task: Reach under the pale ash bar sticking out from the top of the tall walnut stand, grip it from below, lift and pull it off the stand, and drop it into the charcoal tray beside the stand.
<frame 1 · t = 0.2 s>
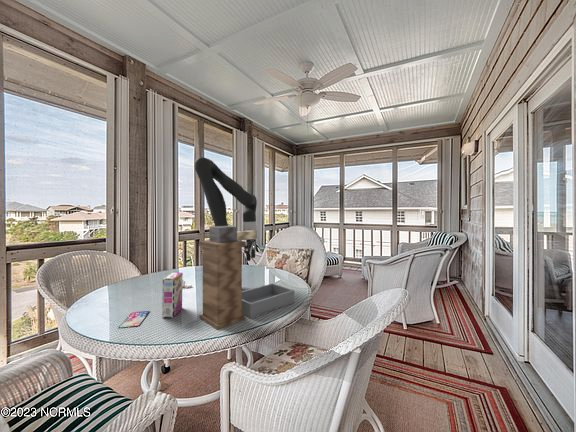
hand: (250, 259, 144), 17 cm above the table, tool pointing down, fingers open, 8 cm apart
teacup and saucer: (182, 289, 147), on the table
smartphone: (135, 320, 107), on the table
candy bar box: (173, 313, 114), on the table
ash bar: (235, 240, 111), point 32 cm above the table, touching walnut stand
walnut stand: (222, 318, 108), on the table
charcoal tray: (262, 305, 123), on the table
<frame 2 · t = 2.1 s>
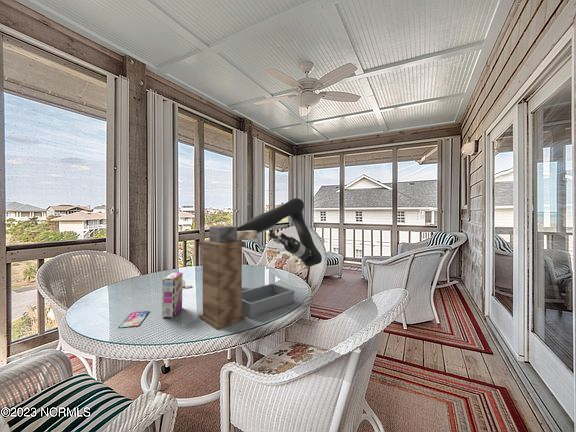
hand: (274, 234, 127), 33 cm above the table, tool pointing upward, fingers open, 8 cm apart
nothing on the table moved.
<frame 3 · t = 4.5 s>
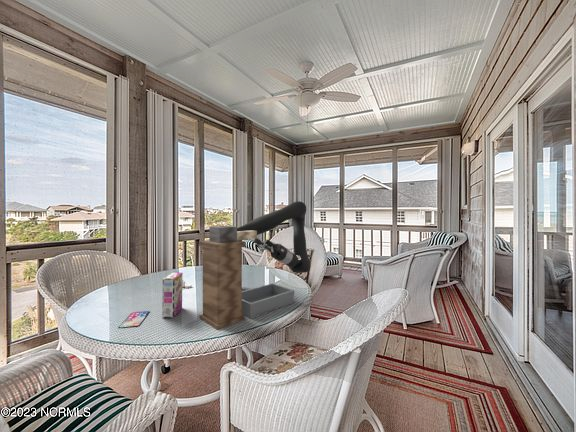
hand: (260, 240, 121), 31 cm above the table, tool pointing upward, fingers open, 8 cm apart
nothing on the table moved.
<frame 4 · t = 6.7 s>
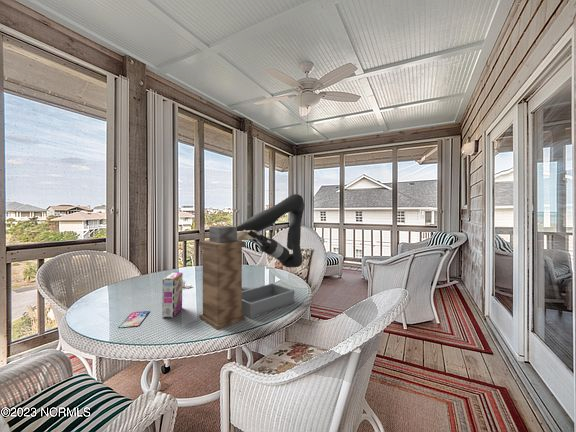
hand: (246, 231, 115), 35 cm above the table, tool pointing upward, fingers closed on ash bar, 3 cm apart
ash bar: (235, 240, 111), point 32 cm above the table, touching gripper, walnut stand
everything else where it was.
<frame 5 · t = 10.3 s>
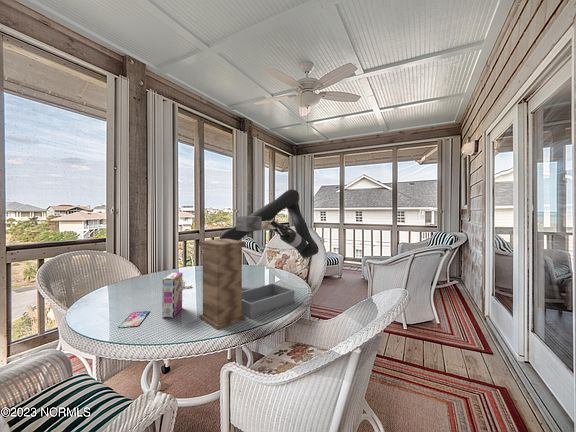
hand: (268, 221, 124), 39 cm above the table, tool pointing upward, fingers closed on ash bar, 3 cm apart
ash bar: (259, 229, 120), point 36 cm above the table, touching gripper
everything else where it was.
when the fingers open (26 cm above the table, at t = 13.8 s): ash bar drops 22 cm, resting on charcoal tray.
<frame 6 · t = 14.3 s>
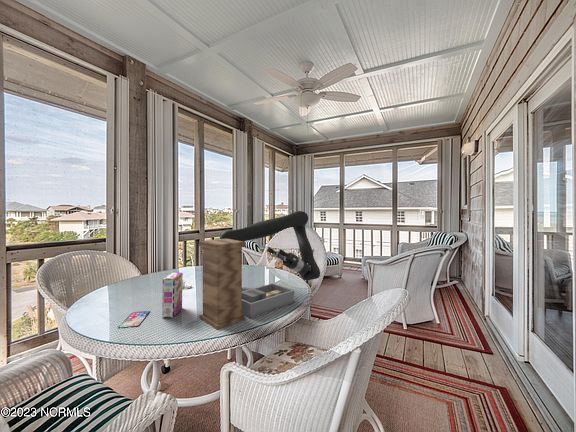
hand: (273, 249, 127), 25 cm above the table, tool pointing upward, fingers open, 8 cm apart
ash bar: (263, 302, 124), point 1 cm above the table, touching charcoal tray
everything else where it was.
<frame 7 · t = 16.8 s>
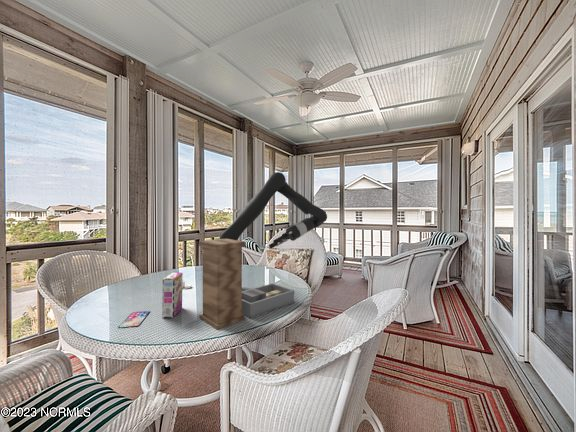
hand: (271, 244, 133), 27 cm above the table, tool tilted 65°, fingers open, 8 cm apart
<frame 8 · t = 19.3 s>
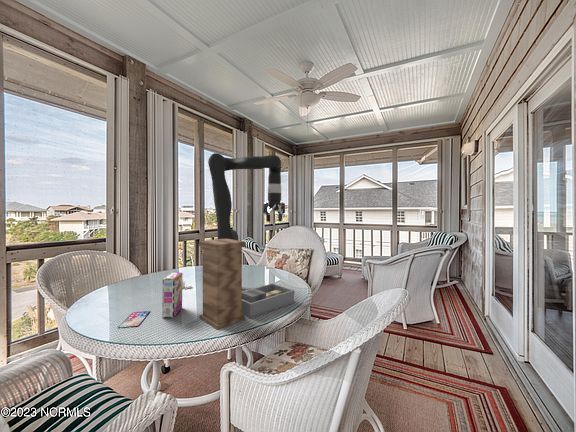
hand: (274, 221, 146), 38 cm above the table, tool pointing down, fingers open, 8 cm apart
at the end: ash bar inside the target area on the charcoal tray (1.0 cm from its centre), point 1.0 cm above the charcoal tray's base; ash bar touching charcoal tray; the gripper is holding nothing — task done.
